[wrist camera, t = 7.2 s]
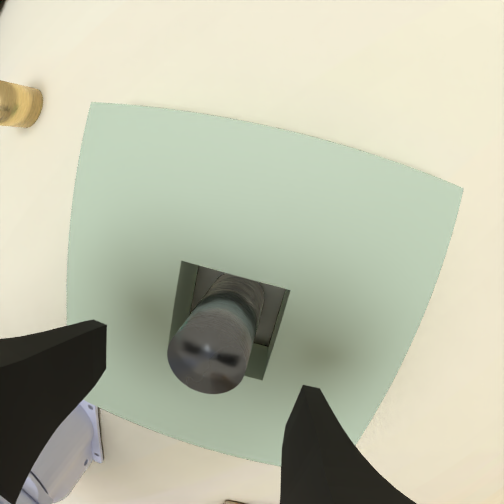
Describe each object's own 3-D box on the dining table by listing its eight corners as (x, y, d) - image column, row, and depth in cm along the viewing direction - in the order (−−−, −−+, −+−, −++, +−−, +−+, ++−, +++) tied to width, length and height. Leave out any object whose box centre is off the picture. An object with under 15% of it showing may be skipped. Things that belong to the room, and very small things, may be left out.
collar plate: (332, 439, 20) (335, 474, 16) (96, 369, 21) (72, 394, 17) (433, 185, 15) (463, 188, 12) (124, 112, 16) (91, 102, 13)
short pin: (37, 128, 17) (-3, 124, 14) (14, 127, 18) (-24, 124, 14) (47, 88, 17) (8, 78, 13) (22, 89, 17) (-14, 81, 13)
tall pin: (257, 326, 18) (236, 402, 12) (207, 312, 18) (163, 380, 12) (270, 279, 18) (254, 340, 11) (217, 264, 18) (172, 315, 11)
